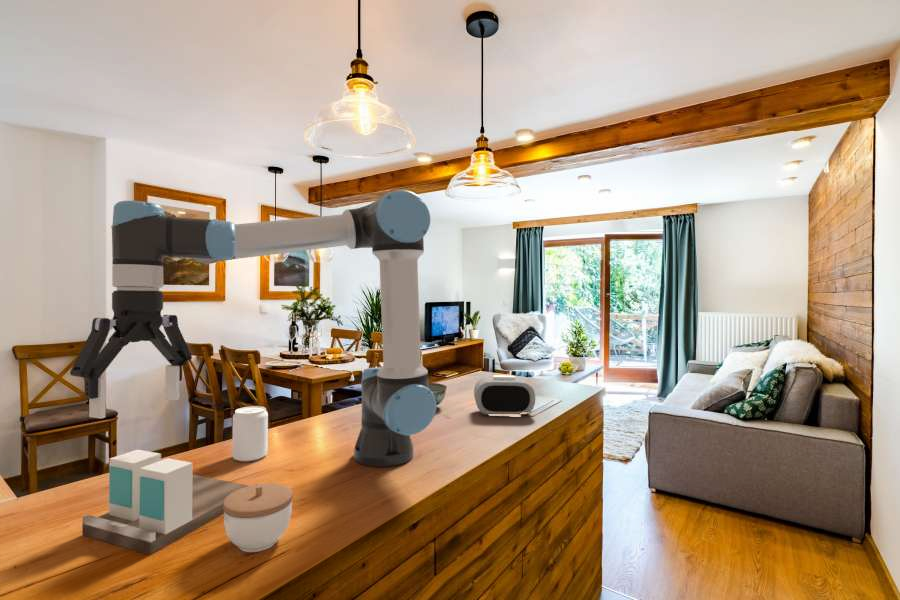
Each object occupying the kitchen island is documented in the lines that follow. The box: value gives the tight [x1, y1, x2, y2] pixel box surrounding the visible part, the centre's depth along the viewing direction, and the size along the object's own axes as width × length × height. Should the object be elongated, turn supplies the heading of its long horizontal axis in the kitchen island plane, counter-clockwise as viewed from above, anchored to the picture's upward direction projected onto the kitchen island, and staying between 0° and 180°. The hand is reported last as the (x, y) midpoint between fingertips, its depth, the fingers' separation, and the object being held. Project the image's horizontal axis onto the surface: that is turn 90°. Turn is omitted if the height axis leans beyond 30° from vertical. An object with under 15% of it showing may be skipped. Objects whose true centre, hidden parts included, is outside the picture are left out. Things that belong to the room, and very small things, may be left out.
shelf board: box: [82, 474, 250, 556], centre depth 84 cm, size 16×22×3 cm
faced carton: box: [139, 457, 194, 534], centre depth 76 cm, size 5×6×10 cm
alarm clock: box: [473, 374, 536, 415], centre depth 158 cm, size 21×10×13 cm, turn 90°
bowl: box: [428, 382, 447, 407], centre depth 165 cm, size 14×13×8 cm
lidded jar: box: [223, 482, 294, 553], centre depth 75 cm, size 11×11×9 cm
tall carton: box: [108, 449, 162, 521], centre depth 80 cm, size 5×6×10 cm
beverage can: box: [231, 405, 269, 462], centre depth 113 cm, size 8×8×12 cm
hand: (137, 407), depth 80 cm, fingers open, 13 cm apart
